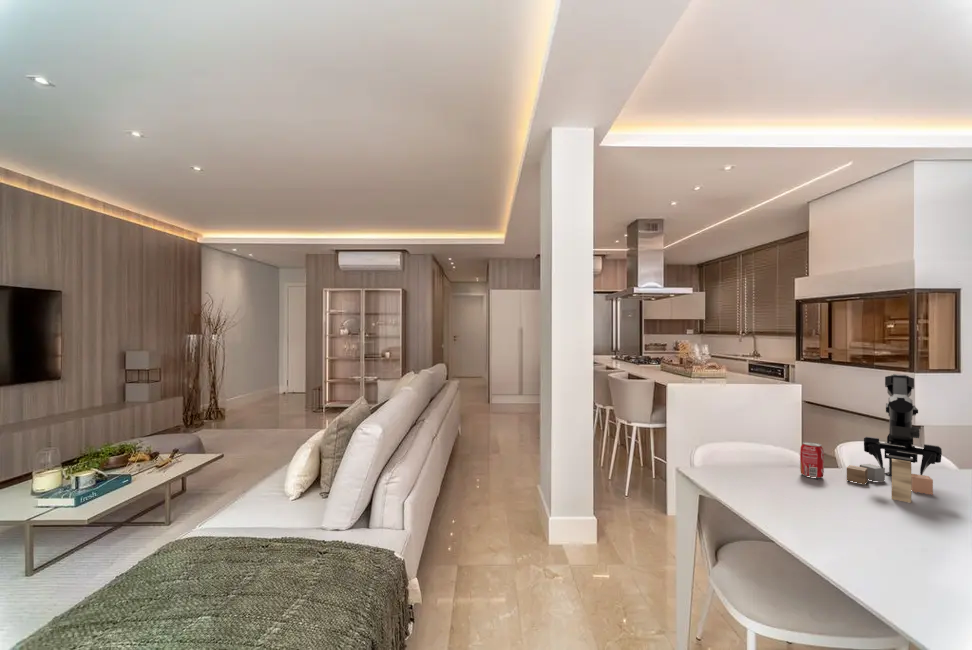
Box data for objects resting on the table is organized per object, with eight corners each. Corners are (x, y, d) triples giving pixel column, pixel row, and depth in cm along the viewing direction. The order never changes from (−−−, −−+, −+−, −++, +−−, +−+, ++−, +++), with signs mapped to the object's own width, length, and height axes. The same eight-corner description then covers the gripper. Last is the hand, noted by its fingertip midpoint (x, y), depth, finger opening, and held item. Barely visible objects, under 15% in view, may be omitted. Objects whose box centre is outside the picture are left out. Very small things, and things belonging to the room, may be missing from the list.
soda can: (815, 474, 167) (816, 441, 168) (828, 480, 160) (828, 446, 161) (795, 473, 168) (796, 441, 168) (807, 479, 161) (807, 445, 161)
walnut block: (849, 478, 163) (849, 465, 163) (867, 482, 159) (867, 468, 159) (846, 481, 159) (846, 467, 159) (864, 485, 156) (864, 471, 156)
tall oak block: (891, 495, 146) (891, 458, 146) (910, 499, 143) (910, 461, 143) (891, 499, 142) (891, 461, 143) (911, 502, 139) (911, 464, 140)
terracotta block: (908, 487, 154) (908, 473, 154) (928, 490, 151) (928, 476, 151) (912, 491, 150) (912, 476, 150) (932, 495, 147) (932, 480, 147)
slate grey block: (869, 477, 165) (869, 463, 165) (884, 481, 160) (884, 467, 160) (859, 478, 164) (859, 464, 164) (874, 482, 159) (874, 468, 159)
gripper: (864, 412, 154) (862, 450, 146) (941, 420, 142) (944, 462, 133) (864, 432, 160) (863, 470, 151) (939, 441, 147) (942, 483, 139)
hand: (901, 471), depth 143 cm, fingers open, 9 cm apart
